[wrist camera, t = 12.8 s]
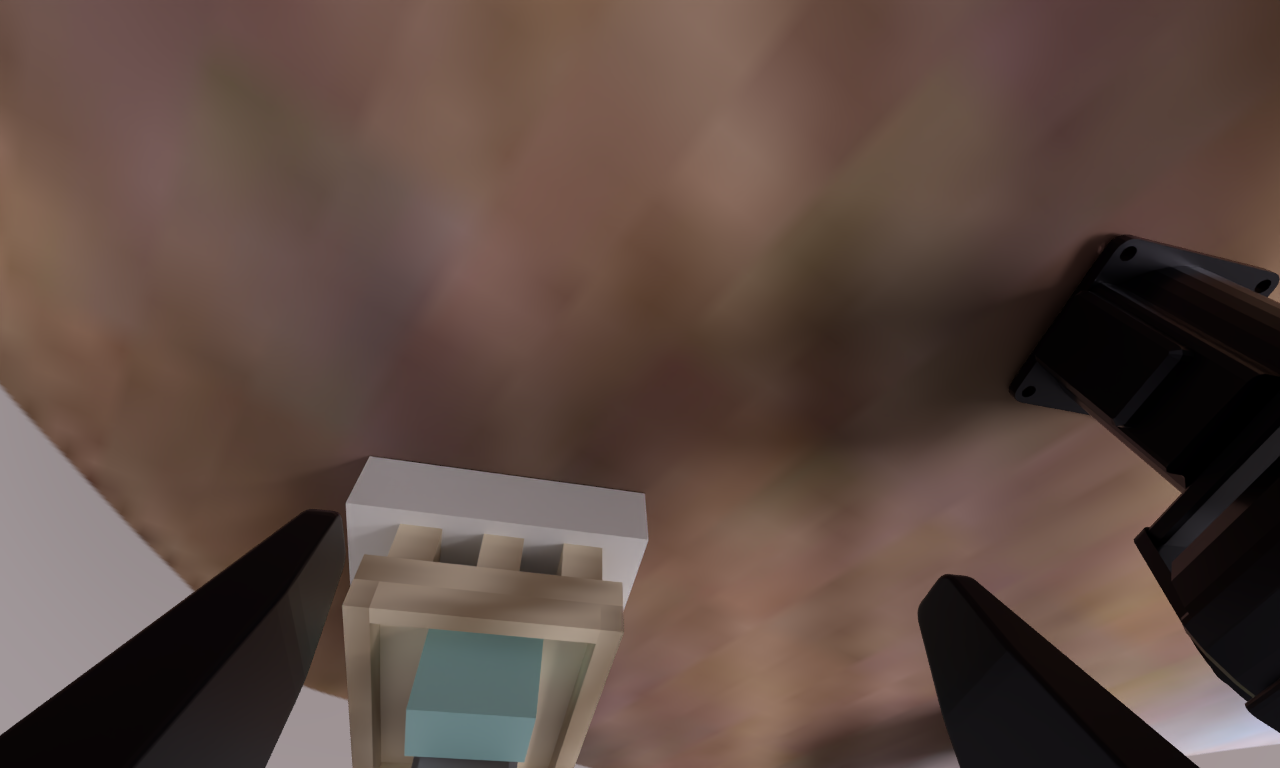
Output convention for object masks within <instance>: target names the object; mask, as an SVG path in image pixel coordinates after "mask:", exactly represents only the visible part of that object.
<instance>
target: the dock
mask: <svg viewBox="0 0 1280 768" xmlns="http://www.w3.org/2000/svg"><path fill="white" fill-rule="evenodd" d="M346 517H347V535H348V553H349V571H350V586H351V584H352V581H353V579H354V577H355V574H356V572H357V570H358V567H359V565H360V563H361V560H362V558H363V556H364V554H367V555H377V556H386V557H387V556H388V554H389V551H390V548H391V546H392V543H393V541H394V538H395V536H396V533H397V530H398V528H399V525H400V524H407V525H415V526H424V527H432V528H440V529H442V542H441V555H440V563H449V564H458V565H467V566H476V567H477V562H478V558H479V553H480V549H481V544H482V540H483V536H484V534H490V535H499V536H507V537H515V538H524V544H523V551H522V558H521V564H520V571H522V572H531V573H540V574H549V575H556V573H557V569H558V565H559V561H560V557H561V553H562V549H563V545H564V543H566V544H574V545H582V546H591V547H599V548H602V580H604V581H613V582H622V587H623V611H624V608H625V605H626V602H627V600H628V597H629V594H630V591H631V588H632V585H633V583H634V580H635V577H636V574H637V571H638V568H639V566H640V563H641V560H642V557H643V554H644V551H645V549H646V546H647V543H648V540H649V539H648V527H647V515H646V502H645V494H644V493H637V492H629V491H622V490H615V489H607V488H600V487H593V486H585V485H578V484H570V483H563V482H556V481H548V480H541V479H534V478H526V477H519V476H512V475H504V474H497V473H489V472H482V471H475V470H467V469H460V468H453V467H445V466H438V465H430V464H423V463H416V462H408V461H401V460H394V459H386V458H379V457H372V456H370V457H369V459H368V460H367V462H366V464H365V466H364V468H363V470H362V472H361V474H360V476H359V478H358V480H357V482H356V484H355V486H354V488H353V490H352V492H351V494H350V496H349V497H348V499H347V501H346Z"/></svg>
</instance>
